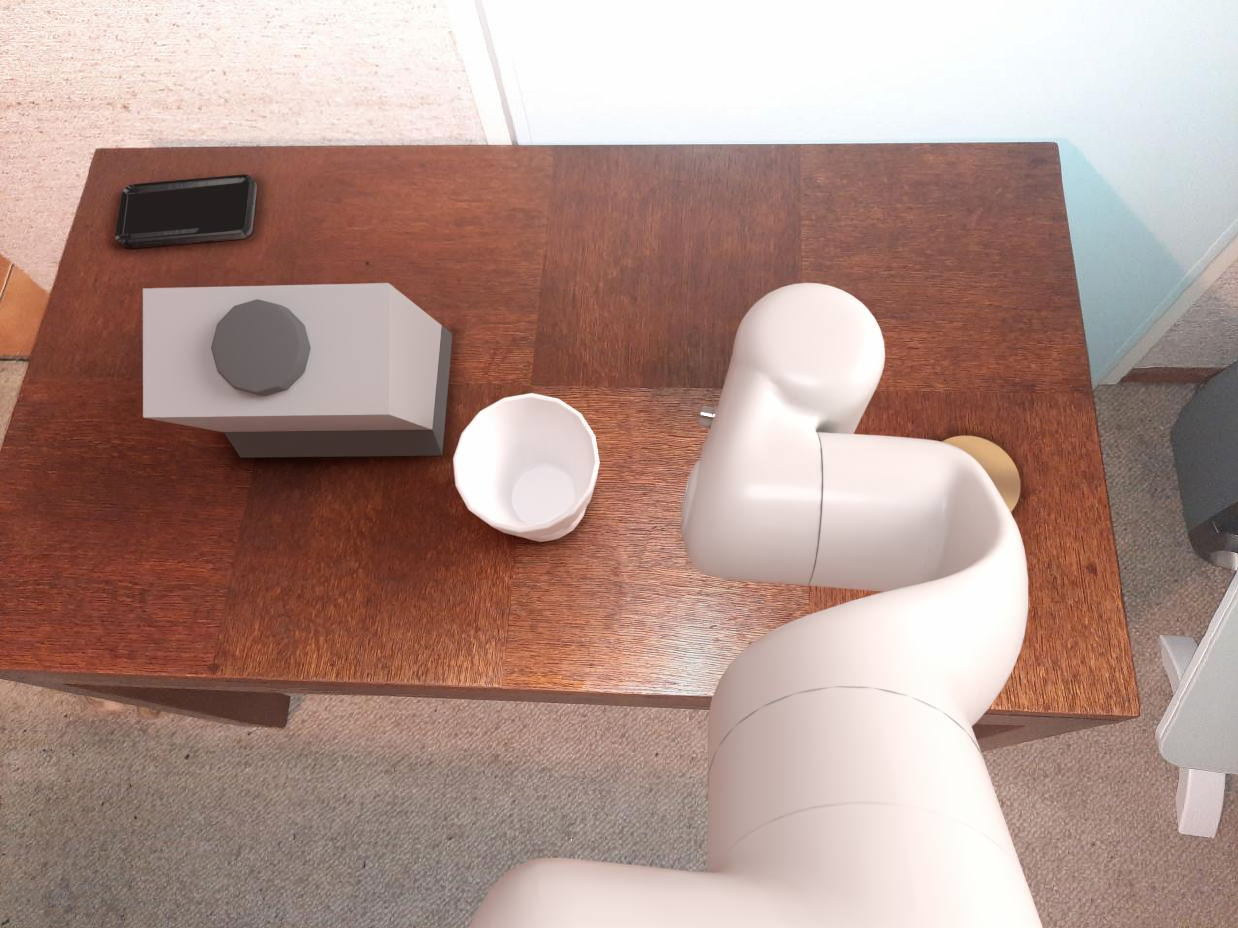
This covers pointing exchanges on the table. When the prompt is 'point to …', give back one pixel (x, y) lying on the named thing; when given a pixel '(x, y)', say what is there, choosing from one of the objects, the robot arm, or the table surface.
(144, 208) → the phone
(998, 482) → the coaster
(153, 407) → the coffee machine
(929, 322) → the table surface
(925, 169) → the table surface
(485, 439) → the cup
